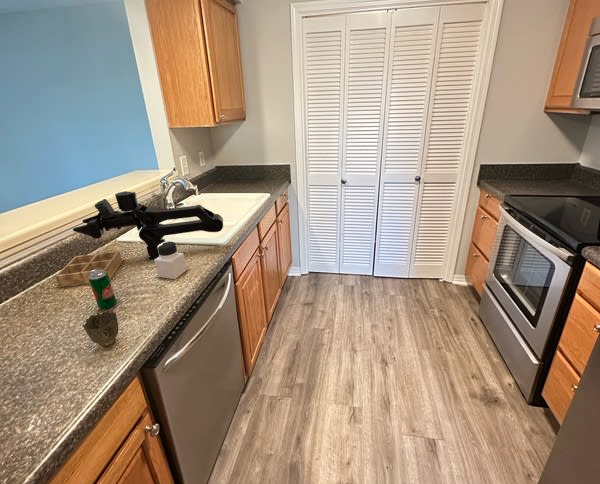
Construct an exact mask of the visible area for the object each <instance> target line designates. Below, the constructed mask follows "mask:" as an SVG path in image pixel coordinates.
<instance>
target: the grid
mask: <svg viewBox="0 0 600 484" xmlns="http://www.w3.org/2000/svg"><path fill="white" fill-rule="evenodd" d="M122 262H123V259H122V256H121V252H120V251H119V250H115V251H107V252H99V253H92V254H83V255H75V256H74V257H72V259H70V261H69V262H68V263H67V264H66V265H65V266H64V267H63V268H62V269H61V270H60V271H59V272H58V273H57V274H56V275H55V276H54V277H55V279H56V282H57V285H58V287H59V288H67V287H73V286H81V285H82V286H83V285H90V282H89V280H88V276H89V275H88V274H89V273H90V272H91V271H94V270H97V269H104V270H105V271H106V272H107V273H108V276H109V279H110V280H111V279H112V277H113V275H114V274H115V273H116V271H117V270H118V268H119V267H120V265H121V264H122Z"/></svg>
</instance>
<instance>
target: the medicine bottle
mask: <svg viewBox="0 0 600 484" xmlns="http://www.w3.org/2000/svg"><path fill="white" fill-rule="evenodd" d="M176 244H177V243H176V242H175V241H165V242H163V243H161V244H159V245H158V247H157V248H158V252H159V257H158V258H156V259H154V264H155V267H156V272H157V275H158V278H163V279H169V280H176V279H177V278H178V277H179V276H181V275H182V274H184V273H185V272H186V271H188V270H187V269H188V268H187V264H186V260H185V259H186V258H185V255H184V253H183V252H178V249H177V245H176Z"/></svg>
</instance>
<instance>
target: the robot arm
mask: <svg viewBox="0 0 600 484" xmlns="http://www.w3.org/2000/svg"><path fill="white" fill-rule="evenodd" d="M114 196H115V198H116V204H117V207H118V210H115V209H114V208H113V206H112V204H111V203H110V202H109V201H108V200H107V198H103V199H102V200H100V201H97V202H96V203H95V204H94V205H93V206H94V208H95V209H96V210H97V211H98V213H97V214H95V215H93V216H89V217H87V218H84V219H82V220H81V221H82V223H83V225H80V226H76V227H73V228H72V231H73V232H75V233H79V234H83V235H85V236H89V237H91V238H92V239H94V240H96V239H100V238H101V237H102V236H103V235H104V234H105V232H109V231H110V230H114V229H117V230H121V229H122V228H129V227H136V229H137V231H138V237H139V239H140V240H141V241H142V242H144V243H145V244H146V250H147V254H148V257H149V260H155V259H156V258H158V257H159V252H158V248H157V247H158V245H159V244H161V243H163V242H166V239H165V238H164V237H165V236H172V235H173V236H174V235H180V234H187V233H194V232H207V233H219V232H221V231H222V230H223V228H224V218H223V216H222V215H220V214H219V213H215V212H213V211H211V210H209V209H207V208H205V207H204V206H203V205H201V204H196V205H189V206H179V207H172V208H171V207H170V208H162V207H152V206H149V207H148V206H146V205H144V204H142V203H140V202H138V199H137V193H136V191H128V190H125V191H120V192H117V193H115V194H114ZM119 210H120V211H119ZM188 218H198V219H195V220H186V221H181V222H172V223H165V224H164V223H163V222H165V221H170V220H180V219H188Z"/></svg>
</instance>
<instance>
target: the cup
mask: <svg viewBox="0 0 600 484" xmlns="http://www.w3.org/2000/svg"><path fill="white" fill-rule="evenodd" d="M82 328H83V329H84V331H85V332H86V334H87V337H89V339H90V341H92V342H93V343H94V344H97V345H99V346H100V347H101V348H109V347H111V346H113V345H114V344H115V343H116V341H117V339H116V338H117V336H118V334H119V321H118V316H117V312H116V311H113V310H111V311H110V310H109V309H107V310H106V311H105V310H102V312H101V313H100V312H97V313H96V314H90V315H89V316H88V318H85V323H82Z"/></svg>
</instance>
